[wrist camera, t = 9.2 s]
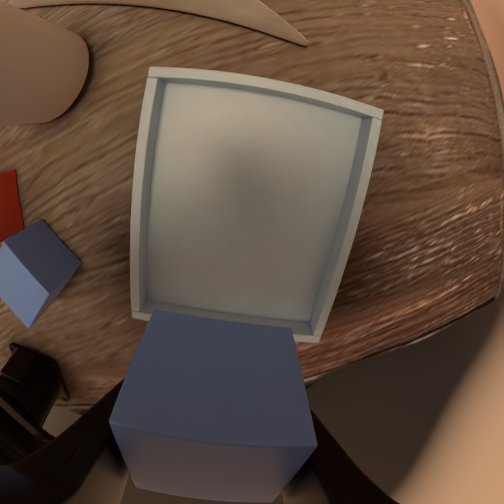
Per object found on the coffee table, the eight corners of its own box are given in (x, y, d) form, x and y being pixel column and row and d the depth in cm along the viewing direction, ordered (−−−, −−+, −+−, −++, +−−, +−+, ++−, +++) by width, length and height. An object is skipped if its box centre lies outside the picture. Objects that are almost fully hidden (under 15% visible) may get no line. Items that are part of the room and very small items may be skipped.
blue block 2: (292, 326, 9) (319, 445, 5) (264, 408, 11) (272, 502, 7) (154, 308, 9) (107, 421, 5) (157, 394, 10) (135, 487, 6)
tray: (312, 324, 20) (318, 343, 18) (140, 301, 19) (131, 318, 17) (368, 112, 15) (384, 110, 13) (160, 74, 13) (149, 66, 12)
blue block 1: (57, 296, 19) (28, 329, 15) (21, 257, 17) (-13, 283, 13) (82, 262, 18) (49, 294, 14) (42, 218, 16) (3, 240, 12)
